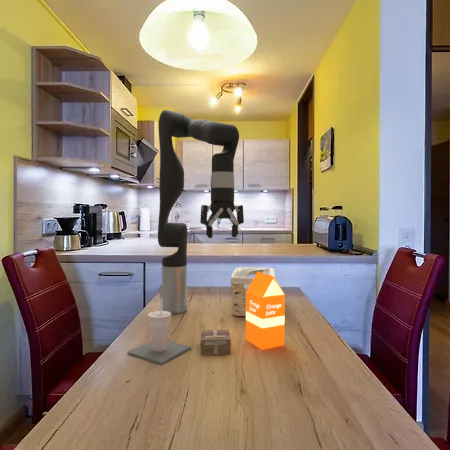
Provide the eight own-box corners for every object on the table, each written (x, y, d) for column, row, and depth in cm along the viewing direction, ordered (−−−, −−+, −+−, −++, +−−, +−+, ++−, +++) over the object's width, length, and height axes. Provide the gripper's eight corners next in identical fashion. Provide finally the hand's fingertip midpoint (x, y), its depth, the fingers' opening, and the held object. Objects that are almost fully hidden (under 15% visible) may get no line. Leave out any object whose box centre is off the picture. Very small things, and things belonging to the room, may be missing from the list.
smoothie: (166, 354, 95) (166, 301, 94) (143, 352, 96) (143, 300, 95) (174, 345, 101) (174, 295, 100) (153, 343, 102) (152, 294, 101)
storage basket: (235, 300, 153) (235, 265, 152) (274, 302, 151) (274, 266, 150) (229, 317, 129) (229, 276, 129) (275, 319, 127) (275, 277, 127)
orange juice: (261, 350, 100) (262, 277, 99) (245, 339, 108) (245, 272, 107) (284, 345, 103) (285, 275, 102) (267, 335, 111) (267, 270, 110)
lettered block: (200, 343, 105) (200, 329, 104) (228, 342, 105) (228, 328, 105) (200, 355, 96) (200, 339, 96) (230, 354, 97) (230, 338, 97)
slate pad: (127, 354, 96) (127, 351, 96) (158, 340, 107) (158, 338, 107) (161, 364, 90) (161, 362, 90) (191, 348, 100) (191, 346, 100)
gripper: (206, 185, 109) (206, 239, 110) (247, 186, 115) (247, 237, 116) (197, 186, 116) (197, 237, 117) (237, 187, 122) (236, 235, 123)
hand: (222, 237), depth 117 cm, fingers open, 8 cm apart
